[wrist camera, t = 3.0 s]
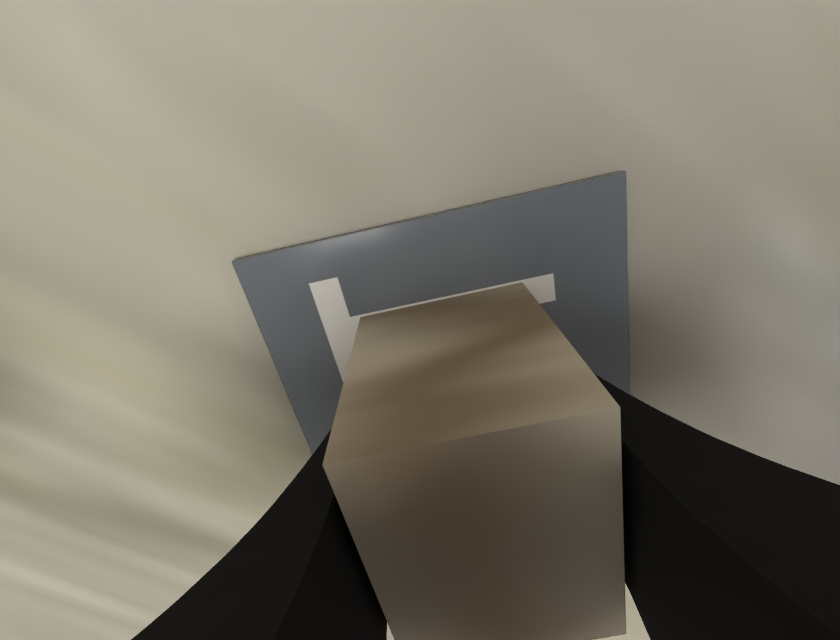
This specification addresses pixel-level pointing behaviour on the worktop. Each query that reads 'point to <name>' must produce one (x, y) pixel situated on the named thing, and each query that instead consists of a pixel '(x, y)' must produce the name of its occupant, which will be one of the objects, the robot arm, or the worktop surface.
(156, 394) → the worktop surface
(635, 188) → the worktop surface
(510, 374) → the birch block
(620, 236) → the slate tile
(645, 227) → the worktop surface
